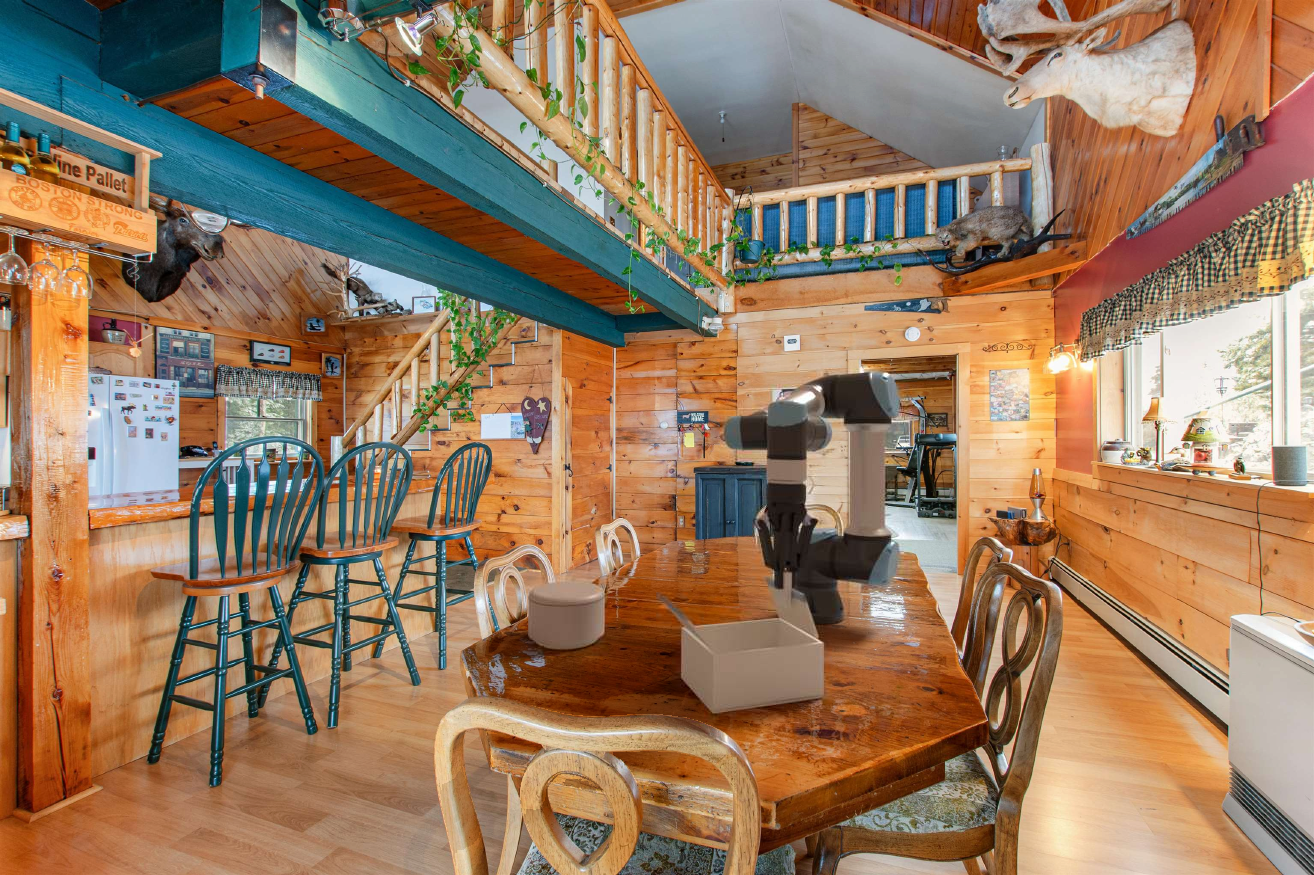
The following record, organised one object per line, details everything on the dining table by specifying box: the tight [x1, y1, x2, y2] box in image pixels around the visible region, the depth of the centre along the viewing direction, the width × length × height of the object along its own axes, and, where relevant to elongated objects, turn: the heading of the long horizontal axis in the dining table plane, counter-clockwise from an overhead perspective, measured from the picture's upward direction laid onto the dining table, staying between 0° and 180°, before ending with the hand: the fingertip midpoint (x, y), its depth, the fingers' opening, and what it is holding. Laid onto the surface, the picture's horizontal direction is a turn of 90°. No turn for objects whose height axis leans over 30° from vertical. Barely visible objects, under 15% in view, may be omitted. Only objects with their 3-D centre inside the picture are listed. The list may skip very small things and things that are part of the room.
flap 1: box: [656, 593, 714, 650], centre depth 109 cm, size 9×14×1 cm
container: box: [527, 580, 606, 650], centre depth 140 cm, size 18×18×12 cm
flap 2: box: [765, 576, 819, 639], centre depth 115 cm, size 9×14×1 cm
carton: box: [680, 617, 825, 714], centre depth 113 cm, size 22×16×10 cm
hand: (784, 605), depth 113 cm, fingers closed
